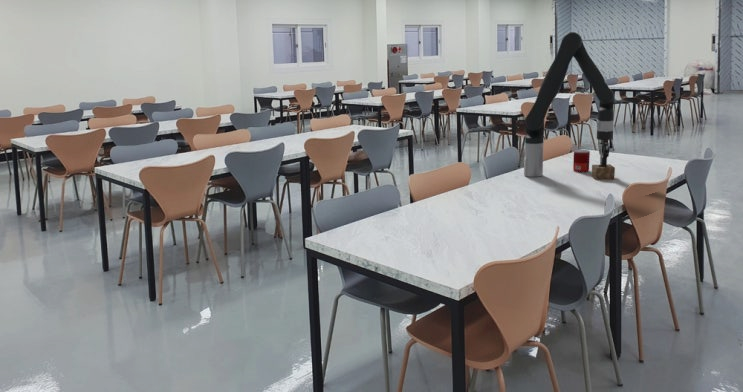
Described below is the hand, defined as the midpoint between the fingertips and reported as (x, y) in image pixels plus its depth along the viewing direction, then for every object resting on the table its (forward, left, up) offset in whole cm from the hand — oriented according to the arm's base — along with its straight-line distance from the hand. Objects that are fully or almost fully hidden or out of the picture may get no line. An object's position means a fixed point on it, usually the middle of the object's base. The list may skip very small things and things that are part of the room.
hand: (603, 163), depth 324 cm
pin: (0, 0, -4) cm, 4 cm away
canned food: (-7, +18, -7) cm, 21 cm away
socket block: (0, 0, -7) cm, 7 cm away
